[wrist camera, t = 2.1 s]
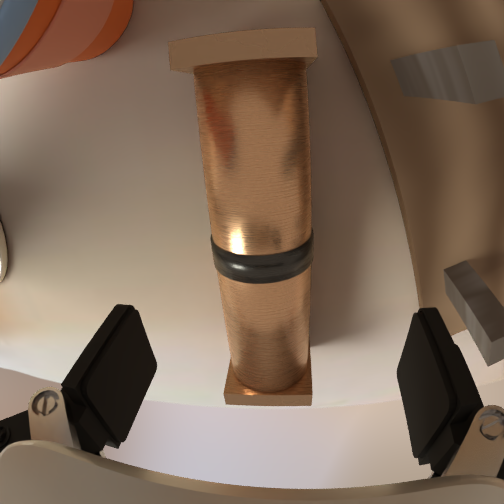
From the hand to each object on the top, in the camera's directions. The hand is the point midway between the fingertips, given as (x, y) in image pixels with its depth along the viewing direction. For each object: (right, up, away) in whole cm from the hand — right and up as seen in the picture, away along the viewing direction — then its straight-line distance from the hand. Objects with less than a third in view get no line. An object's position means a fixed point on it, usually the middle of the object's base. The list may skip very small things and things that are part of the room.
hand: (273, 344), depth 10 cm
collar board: (+14, +9, +5) cm, 17 cm away
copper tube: (0, +5, +9) cm, 10 cm away
